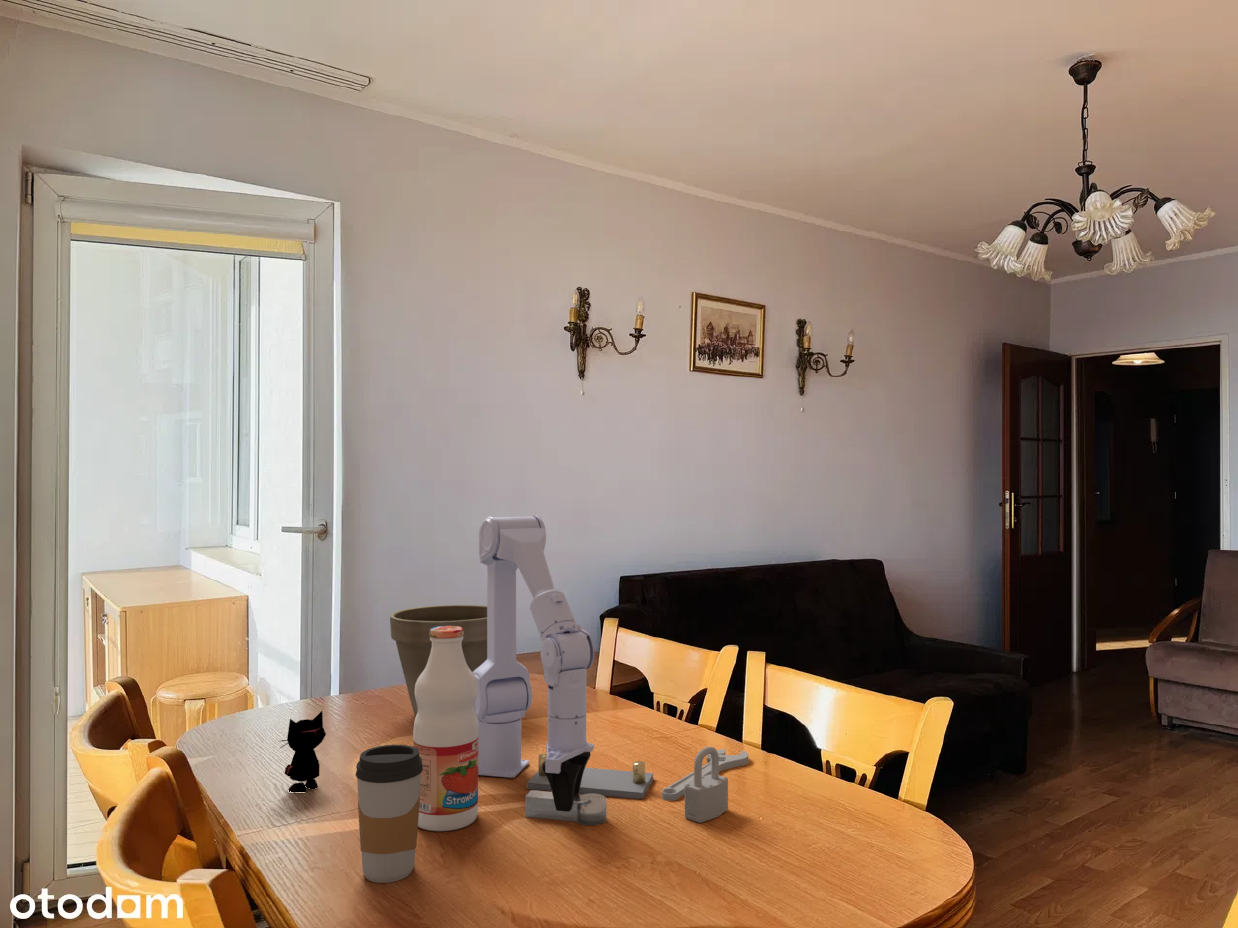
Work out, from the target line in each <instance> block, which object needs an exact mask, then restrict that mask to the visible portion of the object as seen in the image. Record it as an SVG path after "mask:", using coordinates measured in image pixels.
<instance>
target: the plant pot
mask: <svg viewBox="0 0 1238 928" xmlns="http://www.w3.org/2000/svg"><path fill="white" fill-rule="evenodd" d="M389 625H390V637H391V639H392V640H393V641H395V643H396V648H397V653H398V656H399V660H400V664H401V669H402V672H403V673H402V674H403V677H404V680H405V681H404V682H405V684H406V689H407V692H408V696H409V701H410V704H411V708H412V711H413V714H414V716H415V717H416V715H417V712H418V706H417V703H416V699H415V684H416V681H417V679H418V677H419V676H420V675H421V673H422V672H423V671H424V669H425V667H426V665H427V662H428V659H429V656H430V653H431V648H432V641H431V640H430V629H431V628H434V627H439V626H458V627H462V628H463V631H464V635H463V640H462V641H461V645H462V650H463V654H464V657H465V660H466V663H467V665H468V667H469V669H470V670H471V671H472V672H473V671H474V670H475V669H477V668H478V667H479V666H480V665H482V664H483V663H484V662H485V661H486V660H487V605H477V604H445V605H444V604H443V605H430V606H429V605H428V606H420V607H411V608H405V609H400V610H397V611H395V612H393V613H391V614H390V615H389Z"/></svg>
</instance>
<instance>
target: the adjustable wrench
mask: <svg viewBox="0 0 1238 928" xmlns="http://www.w3.org/2000/svg"><path fill="white" fill-rule="evenodd" d="M716 750H717V752H718V756H719V773H721V772H722V771H725V770H728V769H733V768H737V767H743V766H745V765H747V764H749V753H748V751H745V750H740V753H739V754H734V755H731V754H726V749H725V748H721V749H716ZM706 762H707V763H706V764H704V765H702V776H707V775H710V774H711V754H708V755H706ZM693 780H694V771H691V772H690V773H688V774H687V775H685V776H683V777H681V778H680V779H678V780H677V781H674V783H671V784H670V785H668V786H666V787H665V788H663V789H661V798H662V800H665V801H676V800H678V799H679V798H681V797H683V796H685V785H686V784H688V783H690V782H691V781H693Z"/></svg>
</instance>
